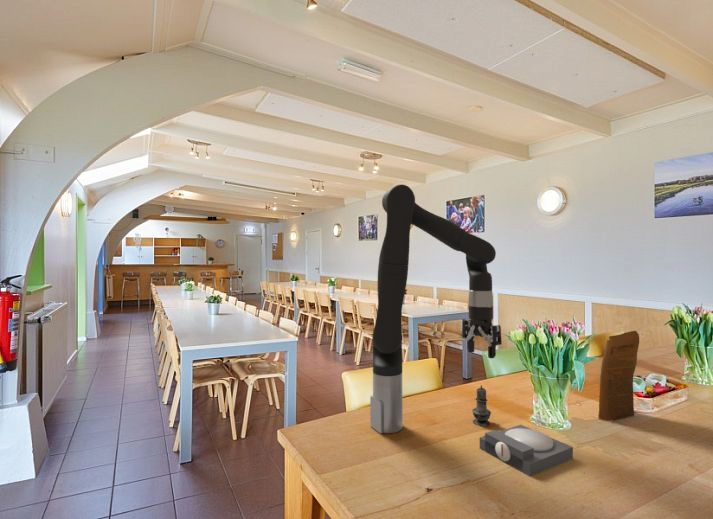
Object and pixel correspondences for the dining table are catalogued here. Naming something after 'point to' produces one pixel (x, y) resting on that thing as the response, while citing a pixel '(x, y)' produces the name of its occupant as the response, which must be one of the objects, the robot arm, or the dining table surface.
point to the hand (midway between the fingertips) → (481, 355)
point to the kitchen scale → (526, 449)
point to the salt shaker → (481, 409)
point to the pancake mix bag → (618, 376)
